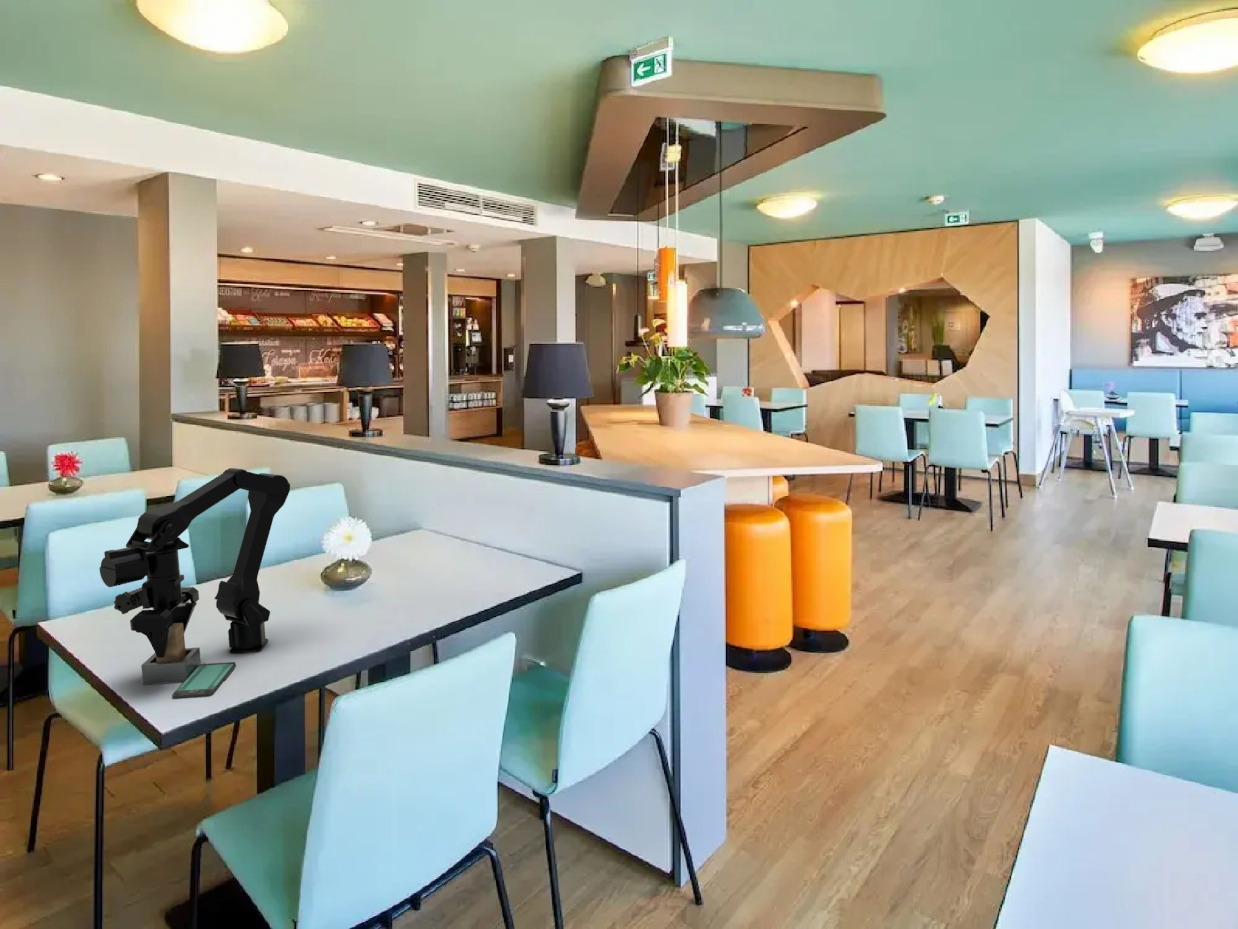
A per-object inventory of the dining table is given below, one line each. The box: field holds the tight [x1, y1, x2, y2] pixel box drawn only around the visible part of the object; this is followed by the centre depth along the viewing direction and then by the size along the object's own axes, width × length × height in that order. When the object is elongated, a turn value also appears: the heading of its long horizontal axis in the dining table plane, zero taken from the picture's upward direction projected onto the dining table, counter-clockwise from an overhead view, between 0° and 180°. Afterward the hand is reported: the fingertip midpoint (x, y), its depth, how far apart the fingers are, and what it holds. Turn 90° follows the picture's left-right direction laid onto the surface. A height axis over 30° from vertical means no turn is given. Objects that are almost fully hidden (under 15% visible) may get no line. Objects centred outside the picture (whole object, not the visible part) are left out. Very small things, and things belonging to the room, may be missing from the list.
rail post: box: [156, 623, 186, 663], centre depth 157 cm, size 4×4×10 cm
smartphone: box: [171, 661, 237, 700], centre depth 155 cm, size 7×1×15 cm
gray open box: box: [140, 647, 202, 686], centre depth 157 cm, size 8×8×4 cm
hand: (170, 648), depth 157 cm, fingers open, 9 cm apart
